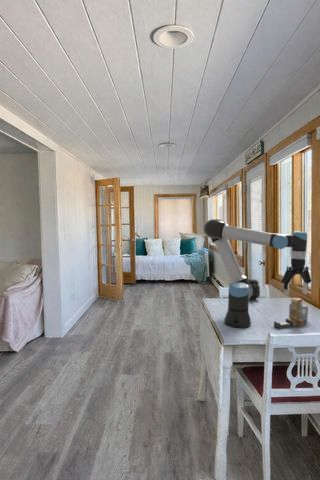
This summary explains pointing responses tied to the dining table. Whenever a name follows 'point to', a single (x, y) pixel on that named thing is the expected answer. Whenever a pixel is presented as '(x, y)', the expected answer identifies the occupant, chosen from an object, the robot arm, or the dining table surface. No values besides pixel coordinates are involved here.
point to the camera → (254, 289)
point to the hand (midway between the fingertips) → (295, 294)
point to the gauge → (301, 301)
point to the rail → (285, 324)
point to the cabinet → (301, 311)
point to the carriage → (295, 313)
